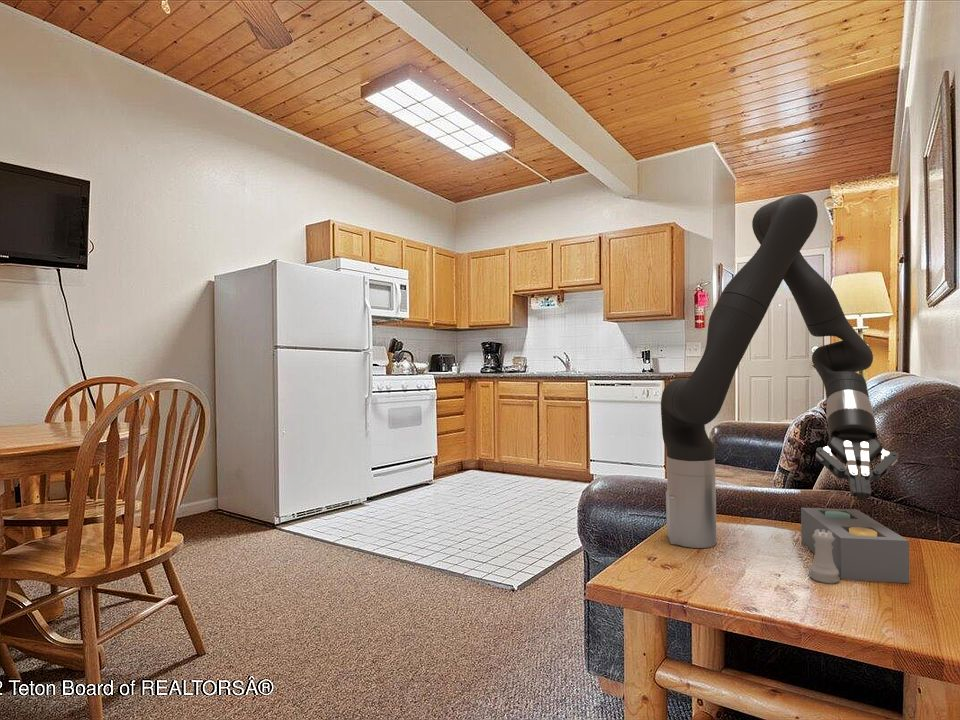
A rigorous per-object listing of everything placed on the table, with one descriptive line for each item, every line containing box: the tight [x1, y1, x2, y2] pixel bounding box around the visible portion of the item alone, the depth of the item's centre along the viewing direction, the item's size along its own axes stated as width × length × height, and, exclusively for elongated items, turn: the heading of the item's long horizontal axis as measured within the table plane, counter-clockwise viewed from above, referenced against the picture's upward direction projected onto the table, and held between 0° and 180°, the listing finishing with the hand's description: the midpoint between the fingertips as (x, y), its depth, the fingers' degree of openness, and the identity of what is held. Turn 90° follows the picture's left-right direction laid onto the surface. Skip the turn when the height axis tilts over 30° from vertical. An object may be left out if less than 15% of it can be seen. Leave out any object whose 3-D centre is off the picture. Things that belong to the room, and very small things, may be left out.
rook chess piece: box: [808, 529, 841, 585], centre depth 91 cm, size 4×4×8 cm
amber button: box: [849, 527, 877, 537], centre depth 94 cm, size 4×4×4 cm
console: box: [800, 507, 911, 584], centre depth 99 cm, size 10×18×7 cm, turn 168°
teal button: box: [825, 511, 850, 519], centre depth 103 cm, size 4×4×4 cm
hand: (861, 498), depth 93 cm, fingers closed
